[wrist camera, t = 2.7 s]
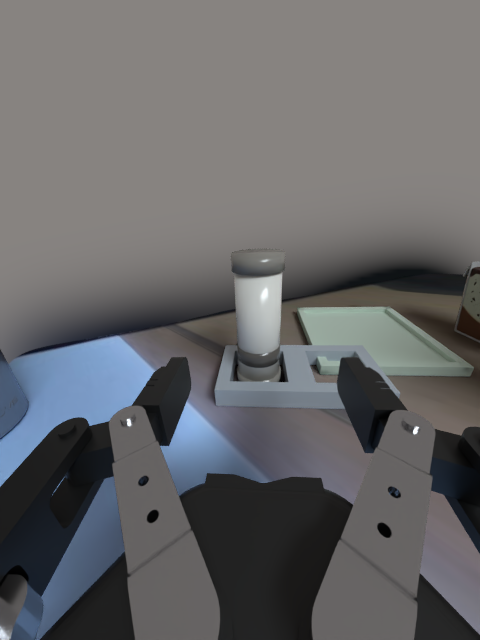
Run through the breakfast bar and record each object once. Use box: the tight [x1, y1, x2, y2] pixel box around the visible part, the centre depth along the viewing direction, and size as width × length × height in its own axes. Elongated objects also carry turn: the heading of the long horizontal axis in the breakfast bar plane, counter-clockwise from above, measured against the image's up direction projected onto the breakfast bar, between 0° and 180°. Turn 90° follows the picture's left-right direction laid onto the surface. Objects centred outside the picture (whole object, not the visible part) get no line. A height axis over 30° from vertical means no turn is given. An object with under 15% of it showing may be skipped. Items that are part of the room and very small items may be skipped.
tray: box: [297, 307, 474, 376], centre depth 34 cm, size 16×18×1 cm
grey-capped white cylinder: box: [231, 249, 285, 382], centre depth 24 cm, size 5×5×14 cm
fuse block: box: [215, 345, 400, 409], centre depth 26 cm, size 17×8×2 cm, turn 86°
